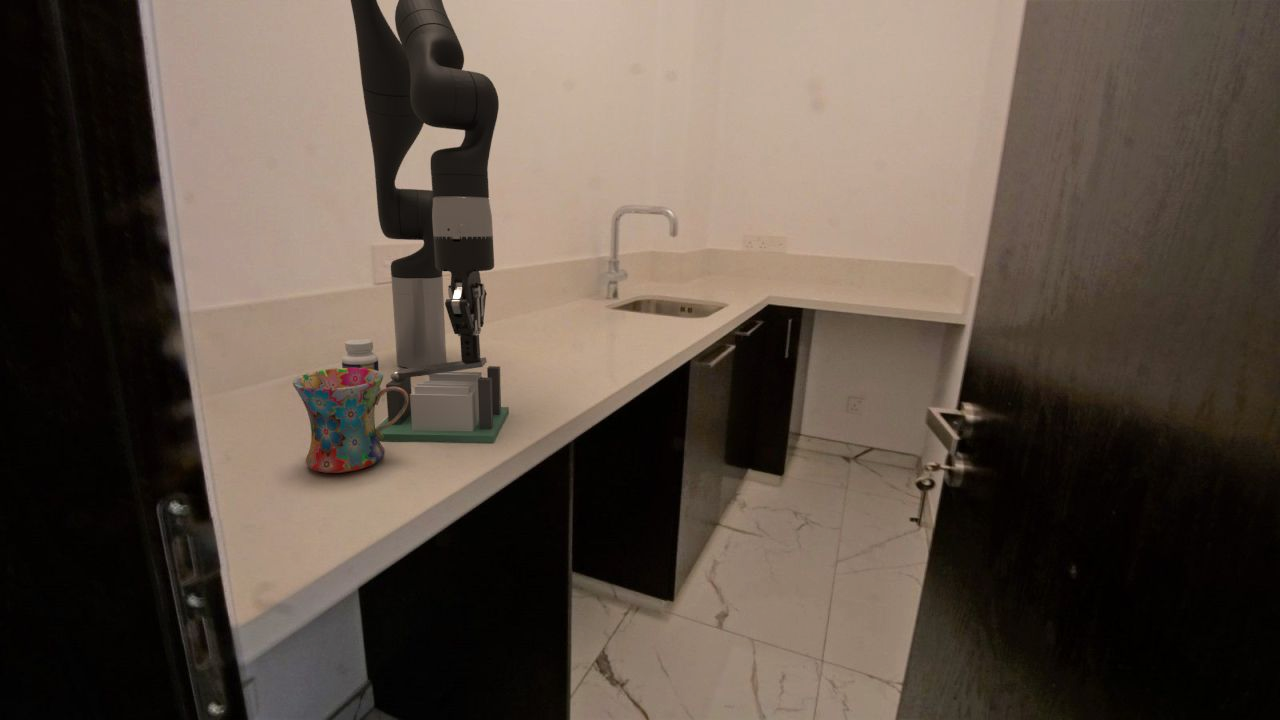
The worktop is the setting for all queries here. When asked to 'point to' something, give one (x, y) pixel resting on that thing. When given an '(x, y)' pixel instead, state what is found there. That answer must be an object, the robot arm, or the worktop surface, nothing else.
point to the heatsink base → (447, 408)
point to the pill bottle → (360, 355)
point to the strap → (436, 369)
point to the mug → (344, 417)
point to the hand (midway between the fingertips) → (471, 361)
